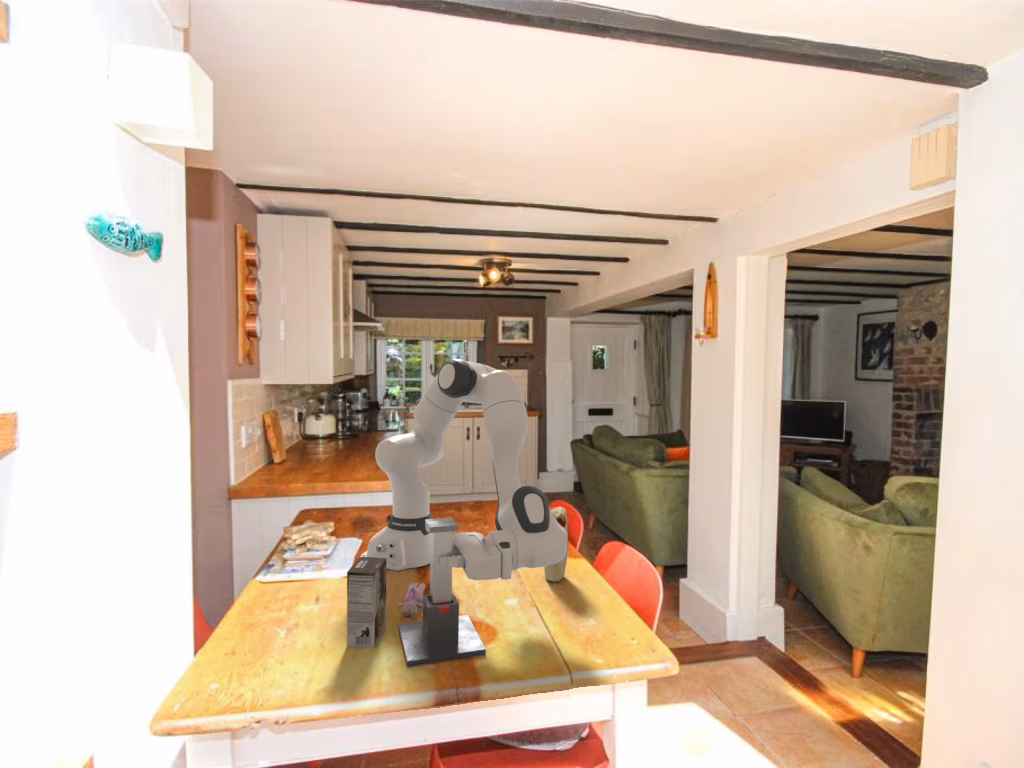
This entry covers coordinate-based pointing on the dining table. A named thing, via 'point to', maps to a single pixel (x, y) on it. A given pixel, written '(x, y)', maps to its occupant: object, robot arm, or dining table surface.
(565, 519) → the food model
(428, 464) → the robot arm
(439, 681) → the dining table surface
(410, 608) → the rabbit figure
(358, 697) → the dining table surface
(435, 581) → the steel column
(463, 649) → the stand base
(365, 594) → the coffee box
